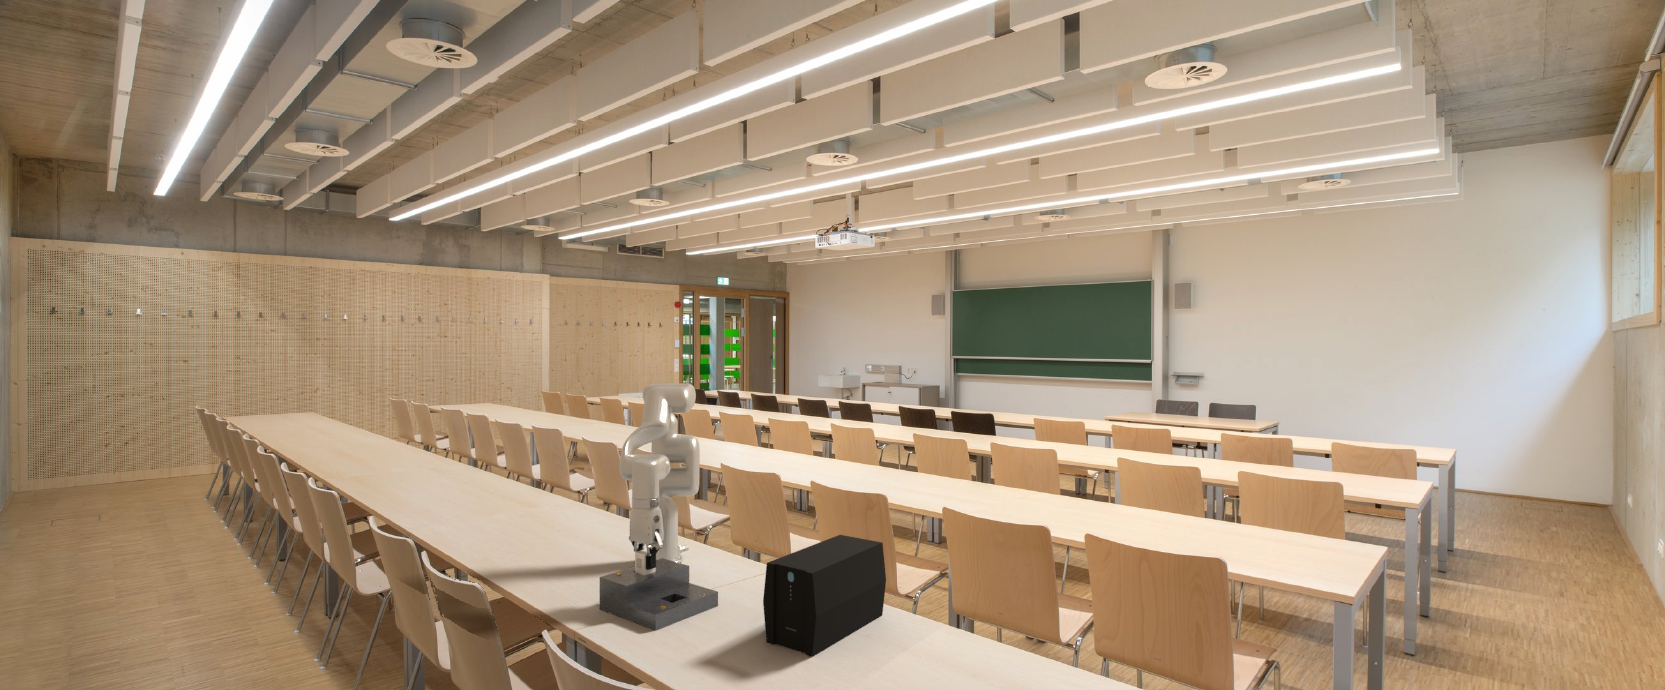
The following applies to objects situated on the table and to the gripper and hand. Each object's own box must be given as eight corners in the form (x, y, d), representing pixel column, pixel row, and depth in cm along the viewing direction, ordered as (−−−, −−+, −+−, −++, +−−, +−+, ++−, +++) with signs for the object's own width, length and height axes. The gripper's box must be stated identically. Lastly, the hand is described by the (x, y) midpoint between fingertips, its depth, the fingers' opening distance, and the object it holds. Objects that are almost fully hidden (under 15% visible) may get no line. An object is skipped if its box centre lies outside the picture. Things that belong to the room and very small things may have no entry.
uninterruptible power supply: (763, 641, 182) (763, 561, 182) (839, 602, 209) (839, 532, 209) (816, 658, 172) (816, 574, 172) (889, 614, 200) (889, 541, 200)
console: (662, 587, 220) (662, 557, 220) (718, 605, 206) (718, 572, 206) (599, 609, 203) (599, 575, 203) (655, 630, 188) (655, 594, 188)
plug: (646, 576, 211) (646, 548, 211) (655, 579, 208) (655, 551, 208) (633, 580, 207) (633, 552, 207) (642, 583, 205) (642, 554, 205)
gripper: (675, 504, 206) (675, 569, 206) (637, 496, 216) (637, 558, 216) (654, 509, 200) (654, 576, 200) (616, 501, 210) (616, 564, 210)
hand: (645, 566), depth 208 cm, fingers closed on plug, 4 cm apart
